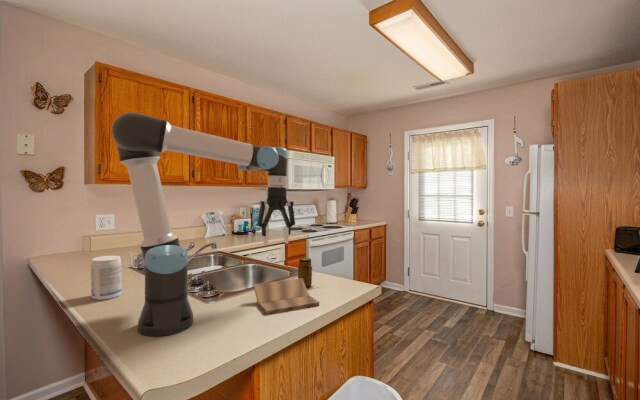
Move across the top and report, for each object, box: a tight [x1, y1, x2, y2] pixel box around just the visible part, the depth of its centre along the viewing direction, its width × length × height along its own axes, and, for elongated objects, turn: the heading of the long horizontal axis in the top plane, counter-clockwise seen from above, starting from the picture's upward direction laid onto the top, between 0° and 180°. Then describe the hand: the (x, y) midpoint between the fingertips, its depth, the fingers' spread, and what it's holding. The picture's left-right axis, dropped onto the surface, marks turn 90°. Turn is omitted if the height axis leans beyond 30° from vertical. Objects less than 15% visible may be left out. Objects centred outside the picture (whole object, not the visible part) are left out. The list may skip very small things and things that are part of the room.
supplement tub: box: [90, 255, 123, 301], centre depth 119 cm, size 10×10×15 cm
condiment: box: [297, 257, 319, 291], centre depth 137 cm, size 7×8×12 cm
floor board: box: [258, 295, 320, 315], centre depth 114 cm, size 20×9×1 cm, turn 118°
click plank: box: [253, 278, 309, 306], centre depth 121 cm, size 20×8×1 cm
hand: (276, 243), depth 126 cm, fingers open, 8 cm apart
